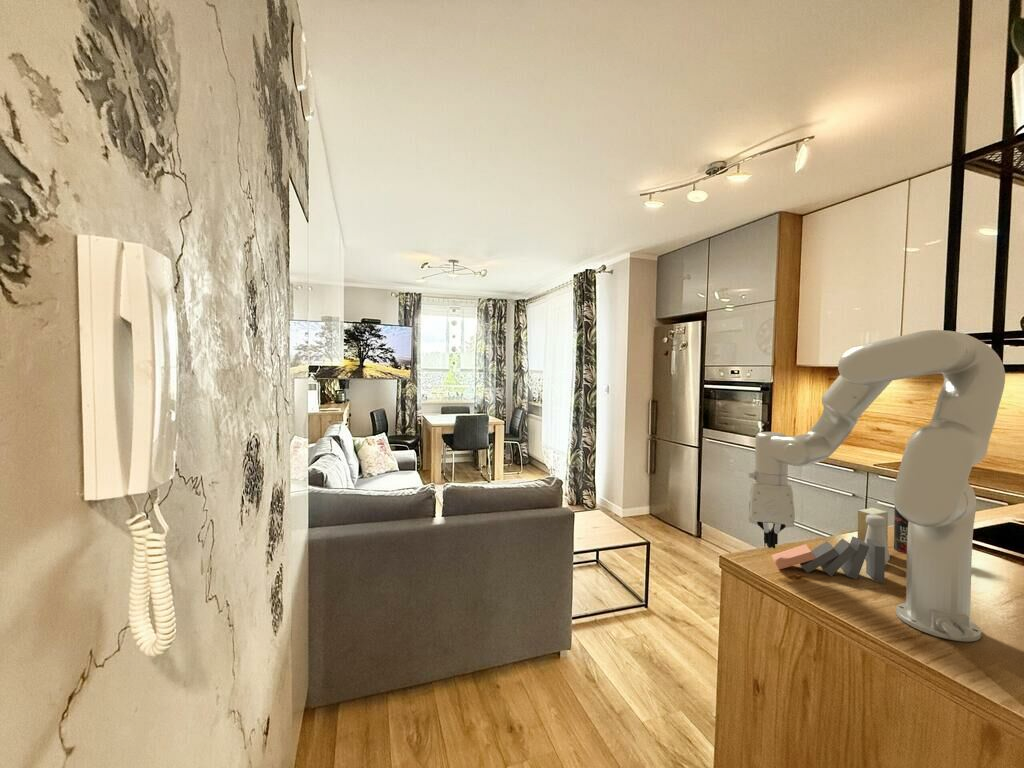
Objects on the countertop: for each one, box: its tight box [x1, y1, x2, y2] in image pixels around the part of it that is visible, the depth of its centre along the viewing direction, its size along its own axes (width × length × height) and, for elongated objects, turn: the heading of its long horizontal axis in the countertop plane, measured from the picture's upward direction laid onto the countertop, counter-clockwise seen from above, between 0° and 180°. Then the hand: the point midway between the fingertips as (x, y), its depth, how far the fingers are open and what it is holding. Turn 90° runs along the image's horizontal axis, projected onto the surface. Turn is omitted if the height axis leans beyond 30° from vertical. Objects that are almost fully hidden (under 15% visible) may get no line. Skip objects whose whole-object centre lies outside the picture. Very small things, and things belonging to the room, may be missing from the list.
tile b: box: [820, 537, 857, 577], centre depth 114 cm, size 5×2×9 cm
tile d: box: [865, 539, 886, 584], centre depth 111 cm, size 5×2×9 cm, turn 160°
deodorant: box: [893, 506, 909, 555], centre depth 127 cm, size 6×6×15 cm
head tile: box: [771, 543, 815, 570], centre depth 117 cm, size 5×2×9 cm
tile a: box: [799, 540, 839, 574], centre depth 115 cm, size 5×2×9 cm
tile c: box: [840, 536, 869, 580], centre depth 112 cm, size 5×2×9 cm, turn 160°
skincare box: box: [857, 507, 889, 546], centre depth 126 cm, size 6×4×12 cm
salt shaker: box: [864, 514, 891, 566], centre depth 119 cm, size 6×6×13 cm
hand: (770, 546), depth 119 cm, fingers closed
